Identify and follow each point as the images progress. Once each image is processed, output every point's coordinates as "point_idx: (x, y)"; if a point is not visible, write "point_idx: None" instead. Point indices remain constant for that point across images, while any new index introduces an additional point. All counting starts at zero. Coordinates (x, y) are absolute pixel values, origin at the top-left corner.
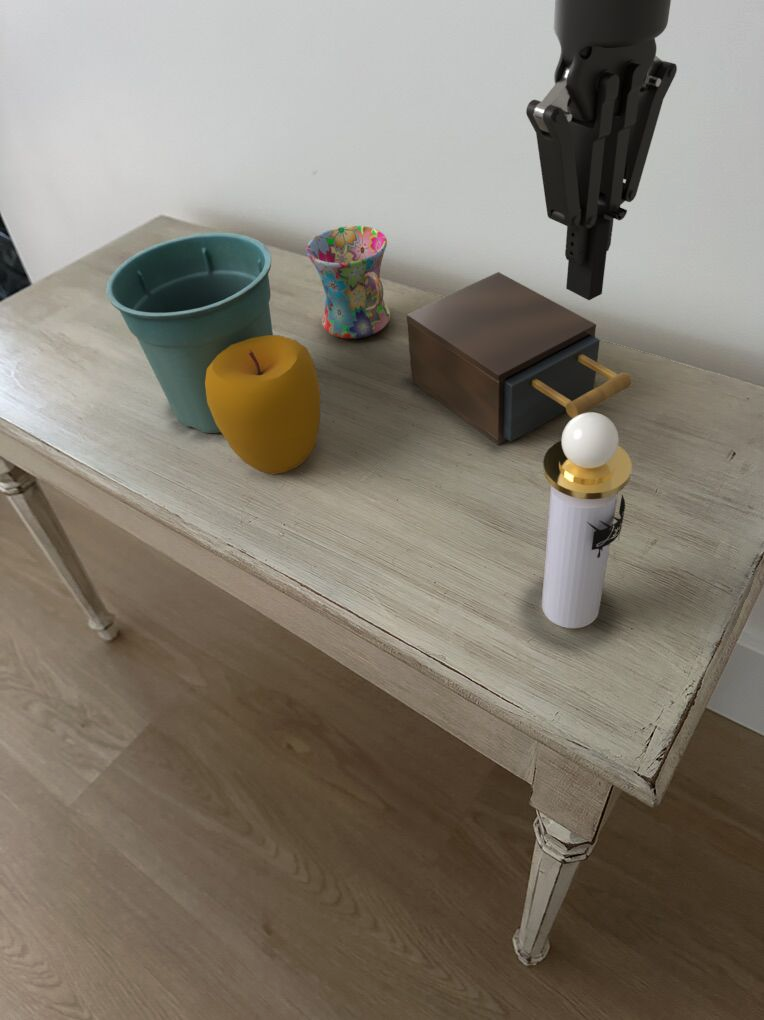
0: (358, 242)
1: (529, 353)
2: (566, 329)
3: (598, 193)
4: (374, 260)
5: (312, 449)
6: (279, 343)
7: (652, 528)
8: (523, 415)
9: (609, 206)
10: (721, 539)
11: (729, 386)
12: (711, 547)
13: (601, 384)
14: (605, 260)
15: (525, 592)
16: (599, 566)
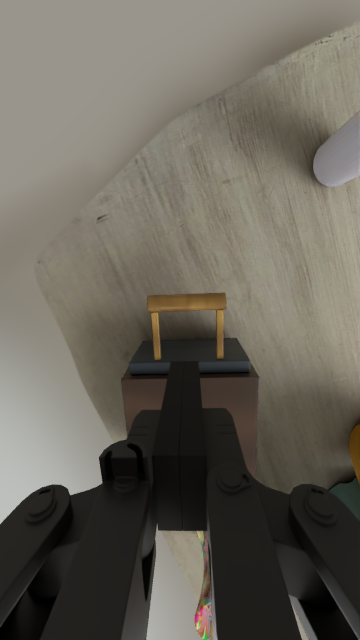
0: (209, 616)
1: (209, 384)
2: (151, 392)
3: (219, 590)
4: None
5: (357, 425)
6: None
7: (215, 194)
8: (226, 345)
9: (145, 501)
10: (182, 148)
11: (39, 283)
12: (195, 146)
13: (178, 309)
14: (165, 390)
15: (341, 203)
16: None
